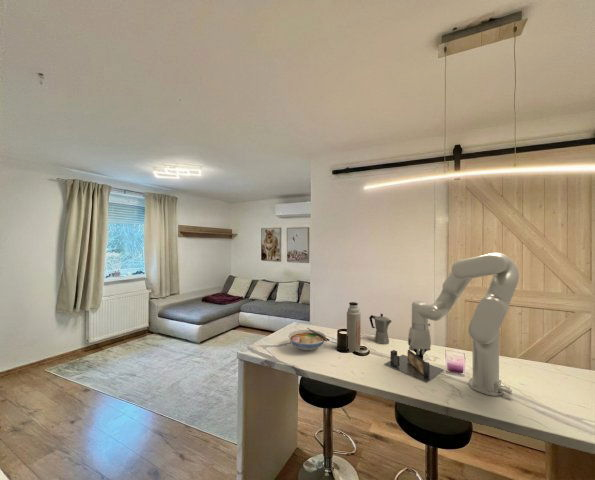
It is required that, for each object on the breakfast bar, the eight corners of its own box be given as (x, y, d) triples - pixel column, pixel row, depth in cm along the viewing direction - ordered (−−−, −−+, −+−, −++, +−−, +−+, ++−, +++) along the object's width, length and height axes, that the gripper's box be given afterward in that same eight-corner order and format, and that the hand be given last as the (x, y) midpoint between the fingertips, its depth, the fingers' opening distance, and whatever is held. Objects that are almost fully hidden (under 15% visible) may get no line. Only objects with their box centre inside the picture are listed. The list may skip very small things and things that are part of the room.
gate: (426, 374, 124) (426, 361, 124) (423, 374, 124) (423, 361, 124) (410, 360, 138) (410, 349, 138) (407, 361, 138) (407, 349, 138)
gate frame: (444, 370, 130) (443, 356, 130) (427, 382, 119) (427, 367, 119) (402, 355, 147) (402, 343, 147) (384, 364, 136) (384, 351, 136)
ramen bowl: (281, 344, 163) (282, 330, 163) (313, 338, 173) (313, 325, 173) (298, 360, 140) (298, 345, 140) (334, 353, 150) (334, 338, 150)
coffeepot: (394, 342, 165) (394, 314, 165) (387, 346, 159) (387, 317, 159) (373, 336, 176) (373, 309, 176) (365, 339, 170) (365, 312, 170)
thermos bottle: (363, 350, 153) (363, 303, 153) (353, 354, 149) (353, 305, 149) (353, 346, 160) (353, 300, 160) (343, 349, 155) (344, 302, 155)
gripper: (430, 323, 138) (429, 358, 138) (402, 323, 137) (402, 358, 137) (438, 328, 130) (437, 364, 130) (408, 328, 130) (408, 365, 130)
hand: (419, 361), depth 134 cm, fingers closed
